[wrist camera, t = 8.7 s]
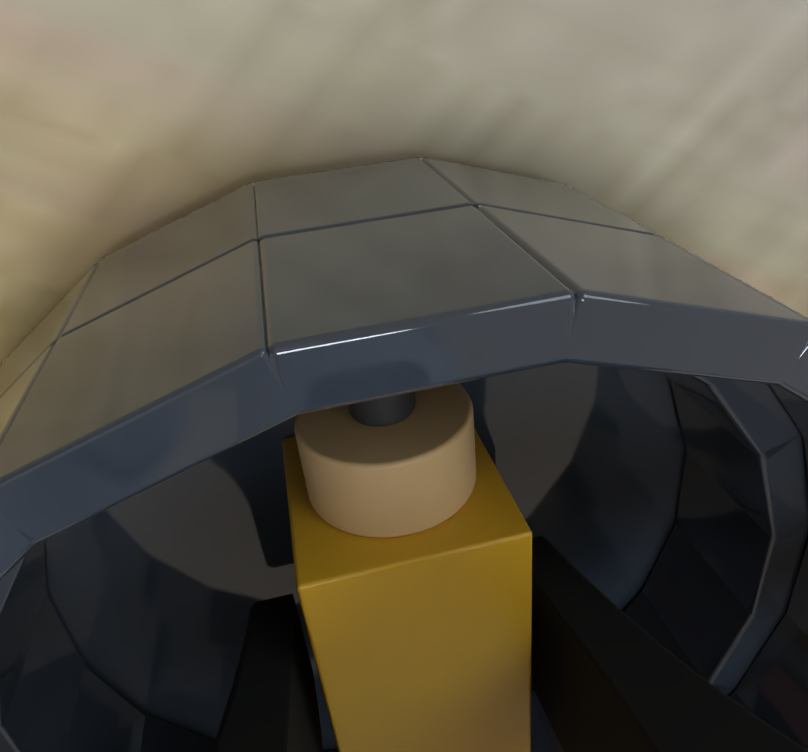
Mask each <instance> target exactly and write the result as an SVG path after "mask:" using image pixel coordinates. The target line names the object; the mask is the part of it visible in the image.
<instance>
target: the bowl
mask: <svg viewBox="0 0 808 752" xmlns="http://www.w3.org/2000/svg"><path fill="white" fill-rule="evenodd" d="M456 383H459V384H460V385H461V386H462V387H463V388H464V389H465V391H466V392H467V393H468V395H469V397H470V399H471V401H472V405H473V413H474V428H475V430H476V432H477V434H478V436H479V437H480V439H481V441H482V443H483V445H484V446H485V448H486V450H487V452H488V454H489V455H490V457H491V459H492V461H493V463H494V465H495V466H496V468H497V470H498V472H499V474H500V475H501V477H502V479H503V481H504V483H505V484H506V486H507V488H508V490H509V492H510V493H511V495H512V497H513V499H514V501H515V503H516V504H517V506H518V508H519V510H520V512H521V513H522V515H523V517H524V519H525V521H526V522H527V524H528V526H529V528H530V530H531V532H532V538H533V537H537V536H541V535H542V536H543V537H545V538H546V539H548V540H549V541H550V542H551V543H552V544H553V545H554V546H555V547H556V548H557V549H558V550H559V551H560V552H561V553H562V554H563V555H564V556H565V557H566V558H567V559H568V560H569V561H570V562H571V563H572V564H573V565H574V566H575V567H576V568H577V569H578V570H579V571H580V572H581V573H582V574H583V575H584V576H585V577H586V578H587V579H588V580H589V581H590V582H591V583H592V584H593V585H594V586H596V587H597V588H598V589H599V590H600V591H601V592H602V593H603V594H604V595H605V596H606V597H607V598H608V599H610V600H611V601H612V602H613V603H614V604H615V605H616V606H617V607H618V608H619V609H621V610H622V611H623V612H624V613H625V614H626V615H627V616H629V617H630V618H631V619H632V620H633V621H634V622H636V623H637V624H638V625H639V626H640V627H641V628H642V629H644V630H645V631H646V632H647V633H648V634H649V635H650V636H652V637H653V638H654V639H655V640H656V641H658V642H659V643H660V644H661V645H662V646H664V647H665V648H666V649H667V650H668V651H670V652H671V653H672V654H674V655H675V656H676V657H677V658H679V659H680V660H681V661H682V662H684V663H685V664H686V665H687V666H689V667H690V668H691V669H692V670H694V671H695V672H696V673H698V674H699V675H700V676H701V677H703V678H704V679H705V680H707V681H708V682H709V683H711V684H712V685H713V686H715V687H716V688H717V689H719V690H720V691H721V692H723V693H724V694H726V695H727V696H728V697H730V698H731V699H732V700H734V701H735V702H737V703H738V704H740V705H741V706H742V707H744V708H745V709H747V710H748V711H750V712H751V713H752V714H754V715H755V716H757V717H758V718H760V719H761V720H762V721H764V722H765V723H767V724H768V725H770V726H772V727H773V728H775V729H776V730H778V731H779V732H781V733H782V734H784V735H785V736H787V737H788V738H790V739H791V740H793V741H794V742H796V743H797V744H799V745H800V746H802V747H803V748H805V749H807V750H808V317H806V316H804V315H802V314H800V313H799V312H797V311H795V310H793V309H791V308H790V307H788V306H786V305H784V304H782V303H781V302H779V301H777V300H775V299H773V298H772V297H770V296H768V295H766V294H764V293H763V292H761V291H759V290H757V289H755V288H754V287H752V286H750V285H748V284H746V283H744V282H743V281H741V280H739V279H737V278H735V277H734V276H732V275H730V274H728V273H726V272H725V271H723V270H721V269H719V268H717V267H716V266H714V265H712V264H710V263H708V262H707V261H705V260H703V259H701V258H699V257H698V256H696V255H694V254H692V253H690V252H689V251H687V250H685V249H683V248H681V247H680V246H678V245H676V244H674V243H672V242H671V241H669V240H666V239H665V238H663V237H661V236H660V235H658V234H656V233H654V232H653V231H651V230H649V229H647V228H645V227H644V226H642V225H640V224H638V223H636V222H634V221H633V220H631V219H629V218H627V217H625V216H624V215H622V214H620V213H618V212H616V211H615V210H613V209H611V208H609V207H607V206H606V205H604V204H602V203H600V202H598V201H597V200H595V199H593V198H591V197H589V196H588V195H586V194H584V193H582V192H580V191H579V190H577V189H575V188H572V187H570V186H568V185H566V184H561V183H556V182H550V181H545V180H540V179H535V178H530V177H524V176H519V175H514V174H509V173H504V172H498V171H493V170H488V169H483V168H478V167H472V166H467V165H462V164H457V163H451V162H446V161H441V160H436V159H431V158H422V159H421V158H418V157H416V158H409V159H403V160H396V161H389V162H382V163H375V164H368V165H362V166H355V167H348V168H341V169H334V170H327V171H321V172H314V173H307V174H300V175H293V176H287V177H280V178H273V179H266V180H259V181H256V182H255V183H254V184H247V185H245V186H243V187H241V188H239V189H237V190H235V191H233V192H231V193H229V194H227V195H225V196H223V197H221V198H219V199H217V200H215V201H213V202H211V203H209V204H207V205H205V206H203V207H202V208H200V209H198V210H196V211H194V212H192V213H190V214H188V215H186V216H184V217H182V218H180V219H178V220H176V221H174V222H172V223H170V224H168V225H166V226H164V227H162V228H160V229H158V230H156V231H154V232H152V233H150V234H148V235H146V236H144V237H142V238H140V239H138V240H136V241H134V242H132V243H130V244H128V245H126V246H125V247H123V248H121V249H119V250H117V251H115V252H113V253H111V254H109V255H107V256H105V257H103V258H102V260H101V261H100V262H99V263H97V264H95V265H94V266H93V267H92V268H91V269H90V270H89V271H88V272H87V273H86V274H85V275H84V276H83V277H82V278H81V279H80V281H79V282H78V283H77V284H76V285H75V286H74V287H73V288H72V289H71V290H70V291H69V292H68V293H67V294H66V295H65V297H64V298H63V299H62V300H61V301H60V302H59V303H58V304H57V305H56V306H55V307H54V308H53V309H52V310H51V311H50V313H49V314H48V315H47V316H46V317H45V318H44V319H43V320H42V321H41V322H40V323H39V324H38V325H37V326H36V327H35V329H34V330H33V331H32V332H31V333H30V334H29V335H28V336H27V337H26V338H25V339H24V340H23V341H22V342H21V344H20V345H19V346H18V347H17V348H16V349H15V350H14V351H13V352H12V353H11V354H10V355H9V356H8V357H7V358H6V360H5V361H4V362H3V363H2V364H1V365H0V752H211V750H212V748H213V745H214V742H215V739H216V736H217V733H218V730H219V727H220V723H221V720H222V717H223V714H224V711H225V707H226V704H227V701H228V698H229V695H230V692H231V688H232V685H233V681H234V678H235V674H236V670H237V667H238V663H239V659H240V655H241V651H242V647H243V643H244V638H245V633H246V629H247V624H248V618H249V611H250V608H251V607H252V606H253V604H254V603H255V602H258V601H262V600H267V599H271V598H275V597H279V596H284V595H288V594H292V593H293V596H294V600H295V604H296V608H297V612H298V615H299V619H300V623H301V627H302V631H303V635H304V638H305V642H306V646H307V650H308V654H309V657H310V661H311V665H312V669H313V673H314V680H315V688H316V695H317V702H318V710H319V717H320V725H321V733H322V749H323V752H338V749H337V745H336V741H335V737H334V733H333V729H332V726H331V722H330V718H329V714H328V710H327V706H326V702H325V698H324V694H323V690H322V686H321V682H320V679H319V675H318V671H317V667H316V663H315V659H314V655H313V651H312V647H311V643H310V639H309V636H308V632H307V628H306V624H305V620H304V616H303V612H302V608H301V604H300V600H299V596H298V592H297V589H296V580H295V569H294V559H293V549H292V538H291V528H290V518H289V507H288V497H287V487H286V476H285V466H284V456H283V445H282V441H283V439H285V438H288V437H293V436H295V432H294V424H295V419H296V415H298V414H303V413H308V412H314V411H319V410H324V409H329V408H334V407H339V406H344V405H349V404H354V403H359V402H365V401H370V400H375V399H380V398H385V397H390V396H395V395H400V394H405V393H410V392H415V391H421V390H426V389H431V388H436V387H441V386H446V385H451V384H456ZM531 752H564V751H563V749H562V747H561V745H560V743H559V741H558V739H557V737H556V734H555V732H554V730H553V728H552V726H551V724H550V722H549V720H548V718H547V716H546V714H545V712H544V710H543V707H542V705H541V703H540V701H539V699H538V697H537V695H536V693H535V691H534V689H533V686H532V684H531Z"/></svg>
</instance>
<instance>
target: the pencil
mask: <svg viewBox="0 0 808 752" xmlns="http://www.w3.org/2000/svg"><path fill="white" fill-rule="evenodd" d="M294 432H295V436H293V437H288V438H285V439H283V441H282V445H283V456H284V466H285V476H286V487H287V497H288V507H289V518H290V528H291V538H292V549H293V559H294V569H295V580H296V589H297V592H298V596H299V600H300V604H301V608H302V612H303V616H304V620H305V624H306V628H307V632H308V636H309V639H310V643H311V647H312V651H313V655H314V659H315V663H316V667H317V671H318V675H319V679H320V682H321V686H322V690H323V694H324V698H325V702H326V706H327V710H328V714H329V718H330V722H331V726H332V729H333V733H334V737H335V741H336V745H337V749H338V752H531V637H532V532H531V530H530V528H529V526H528V524H527V522H526V521H525V519H524V517H523V515H522V513H521V512H520V510H519V508H518V506H517V504H516V503H515V501H514V499H513V497H512V495H511V493H510V492H509V490H508V488H507V486H506V484H505V483H504V481H503V479H502V477H501V475H500V474H499V472H498V470H497V468H496V466H495V465H494V463H493V461H492V459H491V457H490V455H489V454H488V452H487V450H486V448H485V446H484V445H483V443H482V441H481V439H480V437H479V436H478V434H477V432H476V430H475V428H474V413H473V405H472V401H471V399H470V397H469V395H468V393H467V392H466V391H465V389H464V388H463V387H462V386H461V385H460V384H459V383H456V384H451V385H446V386H441V387H436V388H431V389H426V390H421V391H415V392H410V393H405V394H400V395H395V396H390V397H385V398H380V399H375V400H370V401H365V402H359V403H354V404H349V405H344V406H339V407H334V408H329V409H324V410H319V411H314V412H308V413H303V414H298V415H296V419H295V424H294Z"/></svg>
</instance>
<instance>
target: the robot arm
mask: <svg viewBox="0 0 808 752" xmlns="http://www.w3.org/2000/svg"><path fill="white" fill-rule="evenodd" d="M531 684H532V686H533V689H534V691H535V693H536V695H537V697H538V699H539V701H540V703H541V705H542V707H543V710H544V712H545V714H546V716H547V718H548V720H549V722H550V724H551V726H552V728H553V730H554V732H555V734H556V737H557V739H558V741H559V743H560V745H561V747H562V749H563V751H564V752H808V750H807V749H805V748H803V747H802V746H800V745H799V744H797V743H796V742H794V741H793V740H791V739H790V738H788V737H787V736H785V735H784V734H782V733H781V732H779V731H778V730H776V729H775V728H773V727H772V726H770V725H768V724H767V723H765V722H764V721H762V720H761V719H760V718H758V717H757V716H755V715H754V714H752V713H751V712H750V711H748V710H747V709H745V708H744V707H742V706H741V705H740V704H738V703H737V702H735V701H734V700H732V699H731V698H730V697H728V696H727V695H726V694H724V693H723V692H721V691H720V690H719V689H717V688H716V687H715V686H713V685H712V684H711V683H709V682H708V681H707V680H705V679H704V678H703V677H701V676H700V675H699V674H698V673H696V672H695V671H694V670H692V669H691V668H690V667H689V666H687V665H686V664H685V663H684V662H682V661H681V660H680V659H679V658H677V657H676V656H675V655H674V654H672V653H671V652H670V651H668V650H667V649H666V648H665V647H664V646H662V645H661V644H660V643H659V642H658V641H656V640H655V639H654V638H653V637H652V636H650V635H649V634H648V633H647V632H646V631H645V630H644V629H642V628H641V627H640V626H639V625H638V624H637V623H636V622H634V621H633V620H632V619H631V618H630V617H629V616H627V615H626V614H625V613H624V612H623V611H622V610H621V609H619V608H618V607H617V606H616V605H615V604H614V603H613V602H612V601H611V600H610V599H608V598H607V597H606V596H605V595H604V594H603V593H602V592H601V591H600V590H599V589H598V588H597V587H596V586H594V585H593V584H592V583H591V582H590V581H589V580H588V579H587V578H586V577H585V576H584V575H583V574H582V573H581V572H580V571H579V570H578V569H577V568H576V567H575V566H574V565H573V564H572V563H571V562H570V561H569V560H568V559H567V558H566V557H565V556H564V555H563V554H562V553H561V552H560V551H559V550H558V549H557V548H556V547H555V546H554V545H553V544H552V543H551V542H550V541H549V540H548V539H546V538H545V537H543V536H542V535H541V536H537V537H533V538H532V637H531ZM211 752H323V749H322V733H321V725H320V717H319V710H318V702H317V695H316V688H315V680H314V673H313V669H312V665H311V661H310V657H309V654H308V650H307V646H306V642H305V638H304V635H303V631H302V627H301V623H300V619H299V615H298V612H297V608H296V604H295V600H294V596H293V593H292V594H288V595H284V596H279V597H275V598H271V599H267V600H262V601H258V602H255V603H254V604H253V606H252V607H251V608H250V611H249V618H248V624H247V629H246V633H245V638H244V643H243V647H242V651H241V655H240V659H239V663H238V667H237V670H236V674H235V678H234V681H233V685H232V688H231V692H230V695H229V698H228V701H227V704H226V707H225V711H224V714H223V717H222V720H221V723H220V727H219V730H218V733H217V736H216V739H215V742H214V745H213V748H212V750H211Z"/></svg>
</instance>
